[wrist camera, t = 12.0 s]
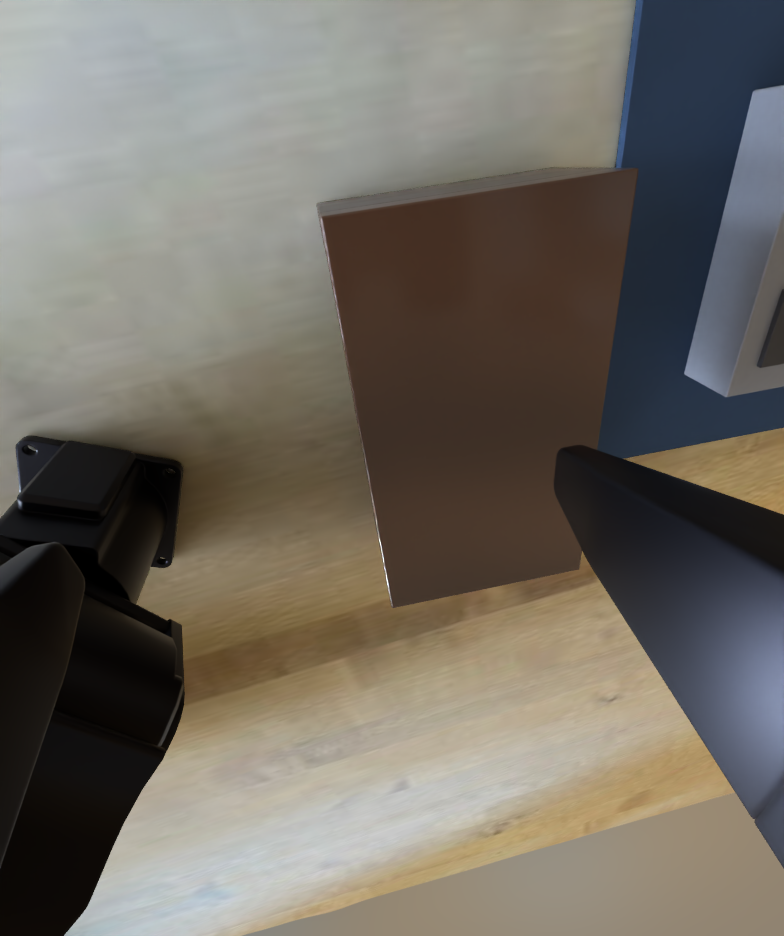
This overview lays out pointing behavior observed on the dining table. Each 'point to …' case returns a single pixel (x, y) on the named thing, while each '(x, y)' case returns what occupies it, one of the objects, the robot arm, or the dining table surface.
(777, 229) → the remote
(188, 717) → the dining table surface
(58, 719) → the robot arm
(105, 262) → the dining table surface
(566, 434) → the bench
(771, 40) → the placemat
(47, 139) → the dining table surface
